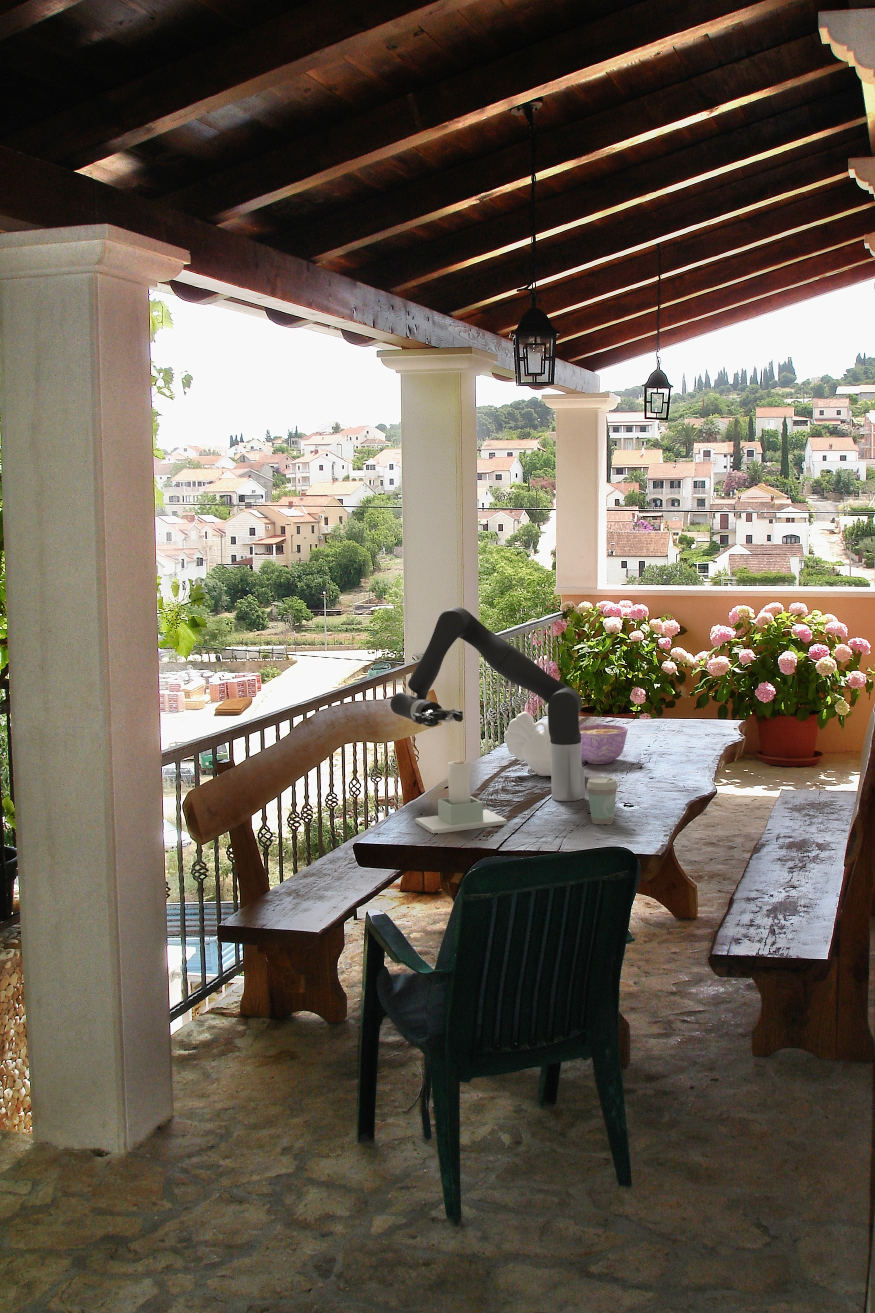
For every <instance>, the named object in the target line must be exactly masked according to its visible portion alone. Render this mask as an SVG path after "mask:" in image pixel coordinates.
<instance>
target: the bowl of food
mask: <svg viewBox="0 0 875 1313" xmlns="http://www.w3.org/2000/svg"><path fill="white" fill-rule="evenodd" d="M579 730H580V733H581V759H583V760H584V761H587V763H589V764H593V765H604V764H605V765H606V764H610V763H612V761H615V760H616V759H618V758H620V756H621V755H622V753H623V750H624V748H625V744H626V738H627V736H628V735H627V734H628V730H629V729H628V728H627V727H626V726H624V725H623V726H622V725H616V724H596V723H595V724H584V725H583V724H582V725H579Z"/></svg>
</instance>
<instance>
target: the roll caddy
mask: <svg viewBox="0 0 875 1313" xmlns="http://www.w3.org/2000/svg"><path fill="white" fill-rule="evenodd" d="M470 799H471V803H466V804H459V805H451V804H449V797H443V798H438V799H437V814H438V815H431V816H430V815H429V816H423V817H417V818H415V819H414V820H415V821H414V822H415V824H416V825H419V826H420V827H421V828H423V829H424V830H426V831H428V832H429V833H431V834H432V833H433V835H435V834H434V833H438V834H444V833H452V832H459V831H465V830H474V829H482V828H490V827H496V826H502V825H508V820H507V819H506V818H504V817H503V816H500V815H498V814H497V813H495V812H492V811H490V810H489V809H486V808H485V809H484V802H483V801H481V800H480V799H477V798H475V797H473V796H471V795H470Z"/></svg>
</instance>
